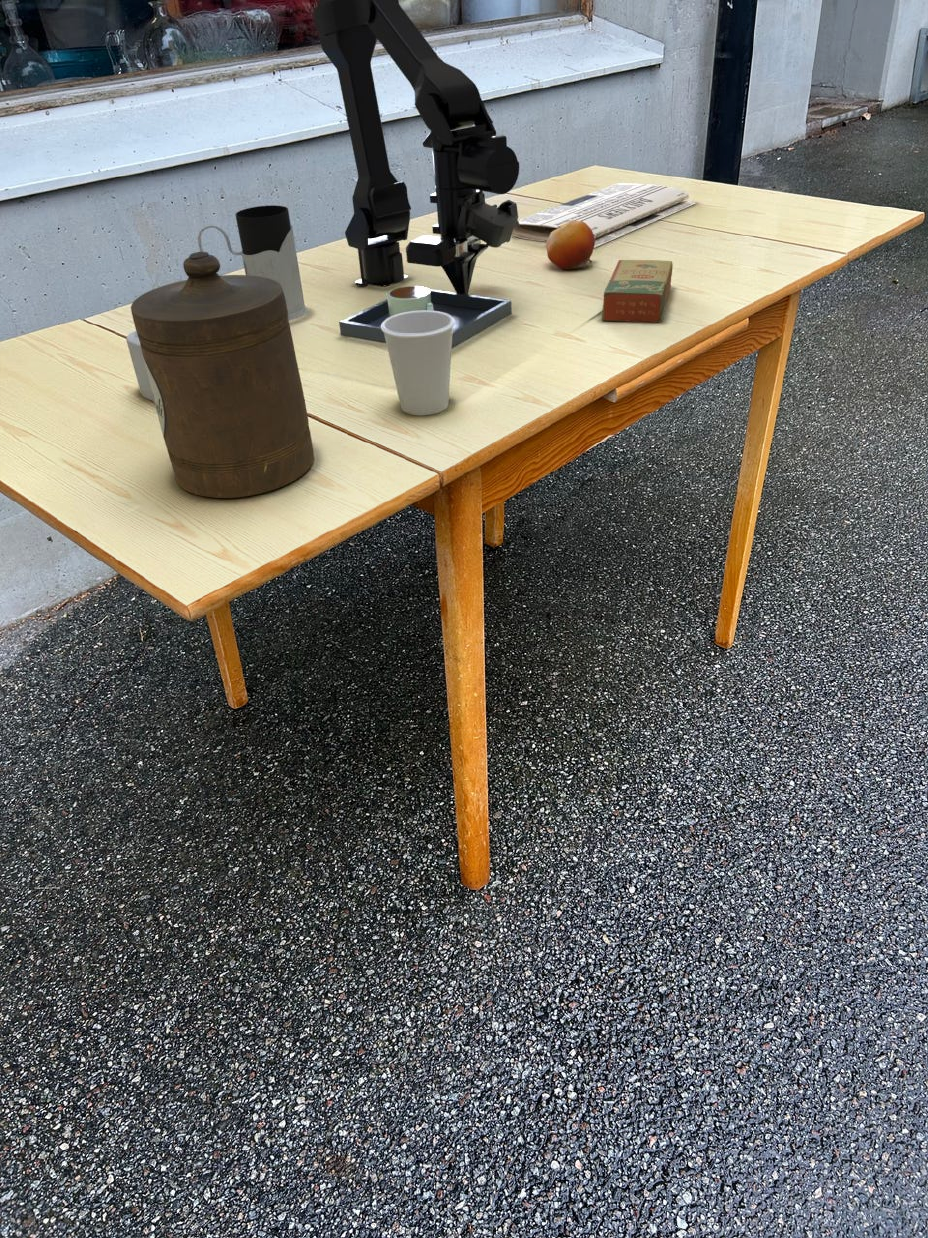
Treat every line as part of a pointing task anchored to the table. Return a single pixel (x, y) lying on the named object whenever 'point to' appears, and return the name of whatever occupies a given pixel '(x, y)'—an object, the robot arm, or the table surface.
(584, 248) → the fruit
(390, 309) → the teacup
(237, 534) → the table surface
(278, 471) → the wooden container
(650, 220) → the newspaper
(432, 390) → the dixie cup
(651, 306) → the carton
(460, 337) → the tray
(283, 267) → the glass holder
